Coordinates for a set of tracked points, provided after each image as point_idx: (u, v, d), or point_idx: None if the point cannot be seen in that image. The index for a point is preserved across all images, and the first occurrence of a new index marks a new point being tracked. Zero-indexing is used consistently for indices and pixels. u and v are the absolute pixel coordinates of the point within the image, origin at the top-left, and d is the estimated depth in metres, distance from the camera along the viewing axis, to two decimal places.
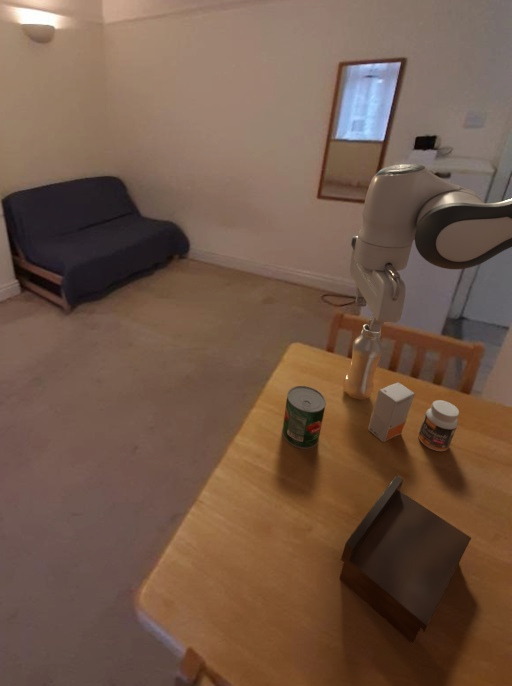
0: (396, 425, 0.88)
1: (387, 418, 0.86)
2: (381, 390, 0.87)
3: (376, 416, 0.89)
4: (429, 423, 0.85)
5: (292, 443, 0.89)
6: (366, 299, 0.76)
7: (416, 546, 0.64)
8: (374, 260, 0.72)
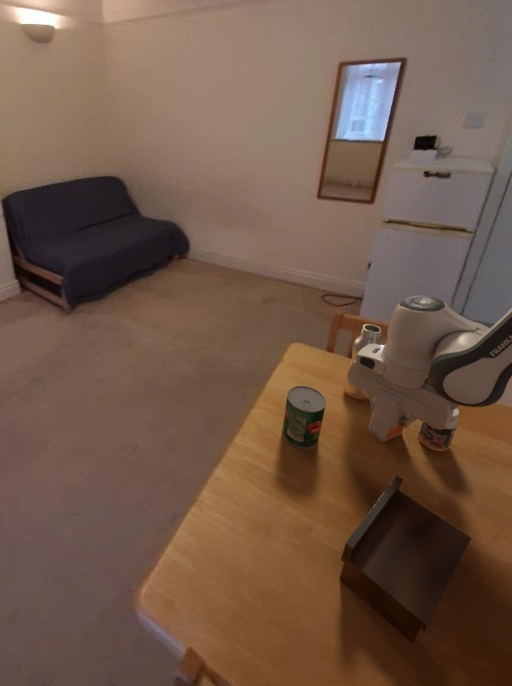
0: (396, 425, 0.88)
1: (387, 418, 0.86)
2: (381, 390, 0.87)
3: (377, 417, 0.89)
4: None
5: (292, 443, 0.89)
6: (405, 409, 0.84)
7: (416, 546, 0.64)
8: (419, 381, 0.79)
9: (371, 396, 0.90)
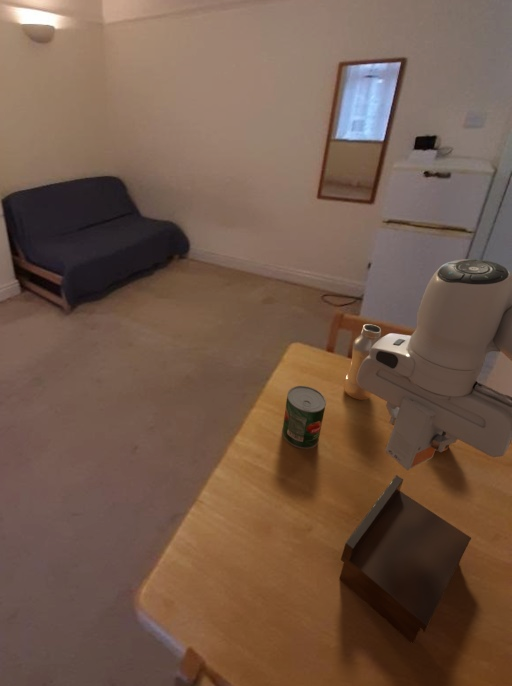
0: (426, 447, 0.63)
1: (414, 438, 0.61)
2: (406, 398, 0.62)
3: (398, 435, 0.64)
4: None
5: (292, 443, 0.89)
6: (440, 426, 0.59)
7: (416, 546, 0.64)
8: (465, 386, 0.54)
9: (391, 406, 0.65)
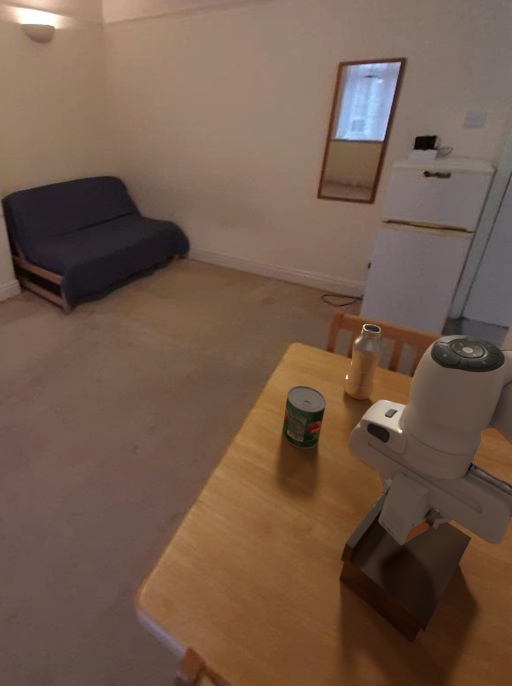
0: (420, 522, 0.60)
1: (407, 514, 0.58)
2: (399, 472, 0.59)
3: (391, 508, 0.61)
4: None
5: (292, 443, 0.89)
6: (435, 505, 0.56)
7: (416, 546, 0.64)
8: (459, 469, 0.52)
9: (383, 476, 0.62)
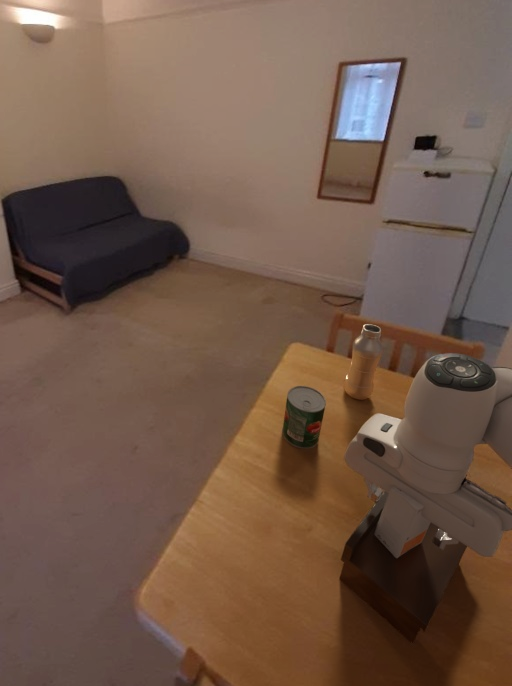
0: (415, 536, 0.61)
1: (402, 528, 0.60)
2: (394, 487, 0.60)
3: (387, 522, 0.62)
4: None
5: (292, 443, 0.89)
6: (429, 518, 0.57)
7: (416, 546, 0.64)
8: (453, 484, 0.53)
9: (368, 481, 0.65)
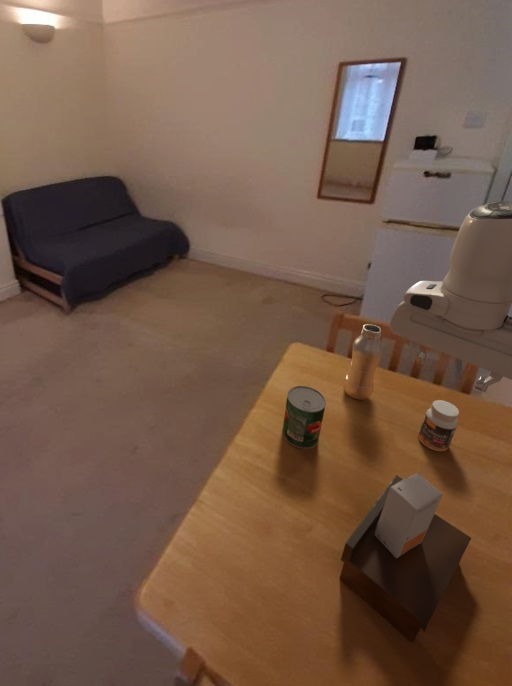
0: (415, 536, 0.61)
1: (402, 528, 0.60)
2: (394, 487, 0.60)
3: (387, 522, 0.62)
4: (429, 423, 0.85)
5: (292, 443, 0.89)
6: (473, 361, 0.64)
7: (416, 546, 0.64)
8: (497, 319, 0.59)
9: (413, 344, 0.71)
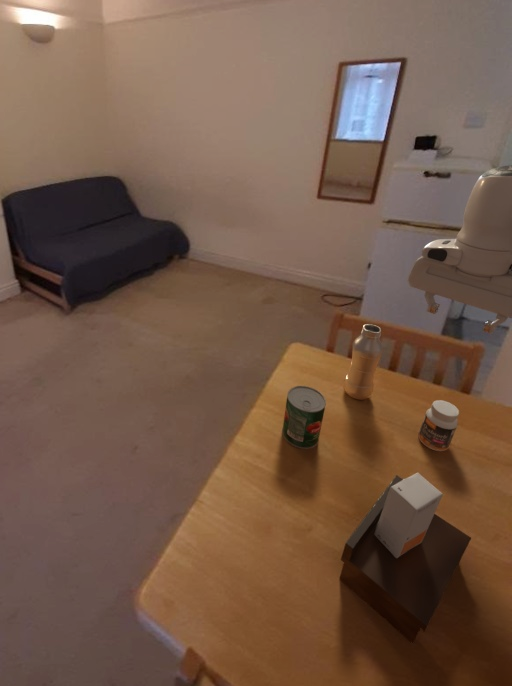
0: (415, 536, 0.61)
1: (402, 528, 0.60)
2: (394, 487, 0.60)
3: (387, 522, 0.62)
4: (429, 423, 0.85)
5: (292, 443, 0.89)
6: (482, 305, 0.74)
7: (416, 546, 0.64)
8: (503, 265, 0.69)
9: (428, 295, 0.81)
